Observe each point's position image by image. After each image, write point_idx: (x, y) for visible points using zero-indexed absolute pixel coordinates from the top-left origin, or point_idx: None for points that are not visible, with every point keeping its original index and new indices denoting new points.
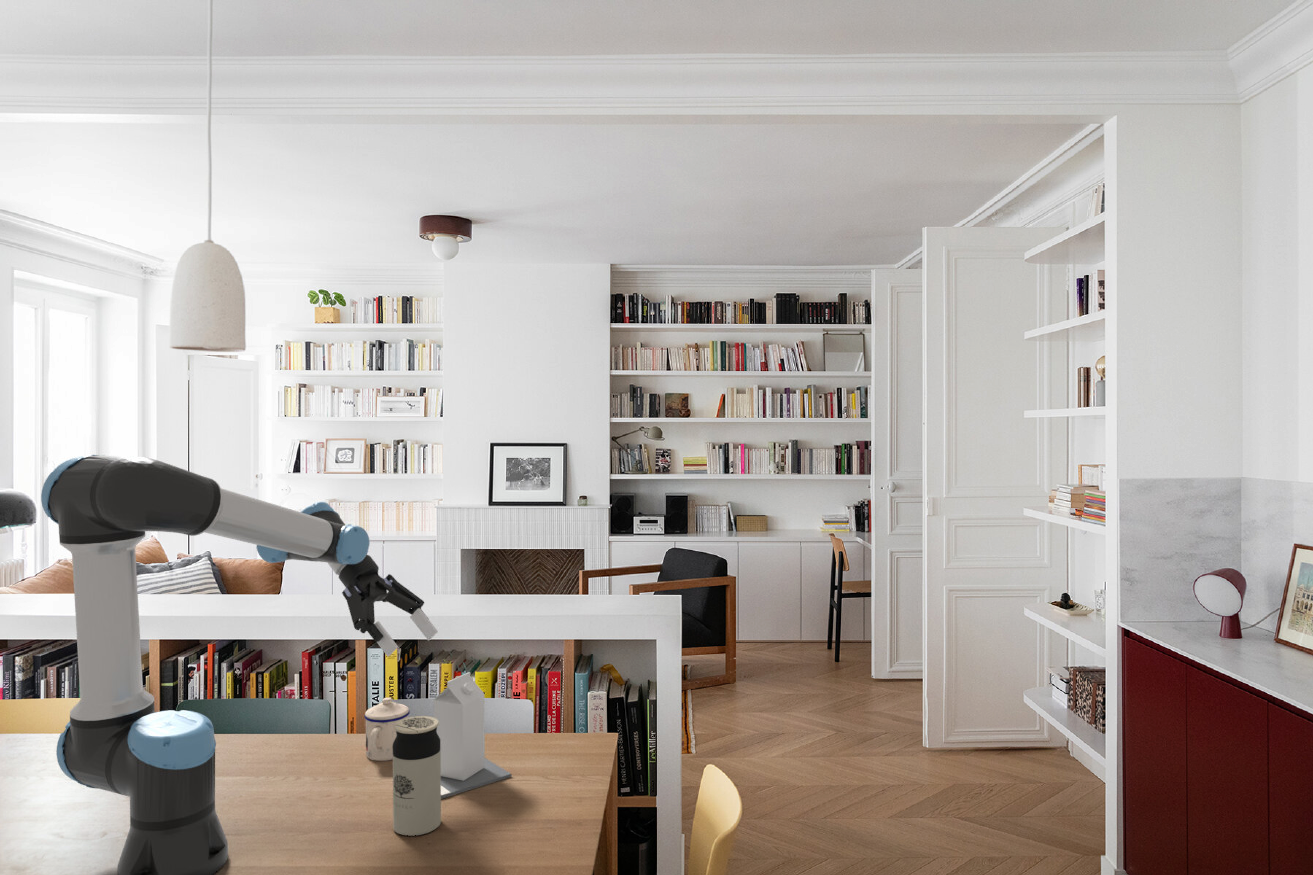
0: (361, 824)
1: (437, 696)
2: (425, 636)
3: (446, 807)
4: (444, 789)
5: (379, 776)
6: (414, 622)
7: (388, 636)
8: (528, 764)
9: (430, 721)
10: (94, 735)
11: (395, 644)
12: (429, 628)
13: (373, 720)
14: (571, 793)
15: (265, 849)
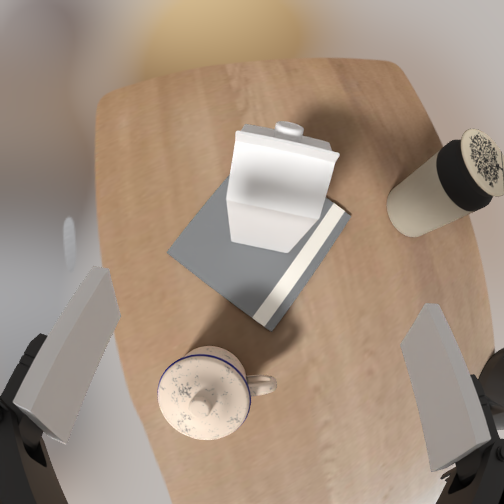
0: (423, 278)
1: (322, 203)
2: (112, 331)
3: (361, 196)
4: (329, 214)
5: (299, 342)
6: (79, 408)
7: (456, 353)
8: (207, 143)
9: (475, 141)
10: None
11: (435, 313)
12: (95, 309)
13: (250, 404)
14: (280, 79)
15: (475, 340)
